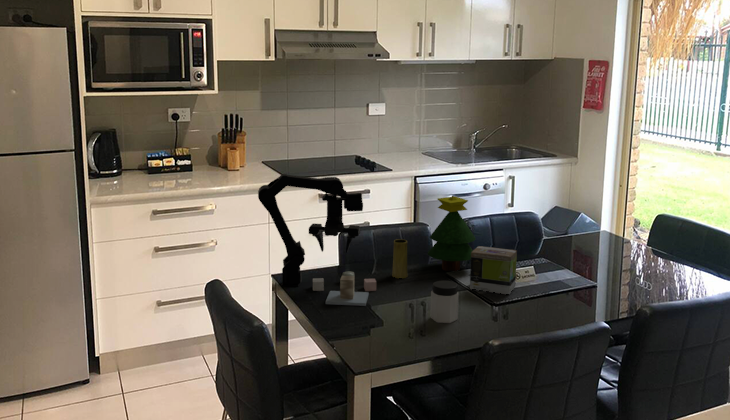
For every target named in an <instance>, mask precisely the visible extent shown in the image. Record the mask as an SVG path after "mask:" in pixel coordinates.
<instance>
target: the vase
mask: <svg viewBox="0 0 730 420" xmlns="http://www.w3.org/2000/svg"><path fill="white" fill-rule="evenodd" d="M392 251H393V254H392V255H393V256H392V272H391V273H392V274H391V276H392V277H393V278H394V277H395V279H399V278H402V279H406V278H408V276H409V274H408V240H406V239H402V238H401V239H400V238H398V239H394V240H393V250H392Z"/></svg>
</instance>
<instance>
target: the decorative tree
mask: <svg viewBox="0 0 730 420" xmlns="http://www.w3.org/2000/svg"><path fill="white" fill-rule="evenodd" d="M437 201H439V202H440V203H441V204H440V205H439V206H438V207H437V208H438V209H439V210H443V211H446V212H447V214H446V215H445V216H444V218H443V219H442V220H441V221H440V223H439V224H438V225H437V227H436V228H435V229H434V231H432V233H431V235H430V236H429V238H430V239H431V240H432V241H434V242H435V243H434V244H433V246H432V247H431V248H430V249H429V250H428V251H427V255H428V256H429V257H430V258H432V259H435V260H440V261H441V270H442V271H445V272H450V271H454V272H458V271H457V270H459V271H461V262H463V261H471V252H472V251H473V250H474V249H472V247H471V245H470V244H469V243H473V242H475V241H476V239H477V238H476V237H475V234H474V233H473V232H472V231H471V229H470V228H469V226H468V224H467V223H466V221H465V220H464V218H463V216H462V215H461V214H460V213H459V212H462V211H468V208H466V207H465V206H464V205H465V204H466V203H468V202H469V200H468V199H466V198H461V197H459V196H454V195H452V196H448V197H446V196H445V197H440V198H437Z"/></svg>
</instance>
